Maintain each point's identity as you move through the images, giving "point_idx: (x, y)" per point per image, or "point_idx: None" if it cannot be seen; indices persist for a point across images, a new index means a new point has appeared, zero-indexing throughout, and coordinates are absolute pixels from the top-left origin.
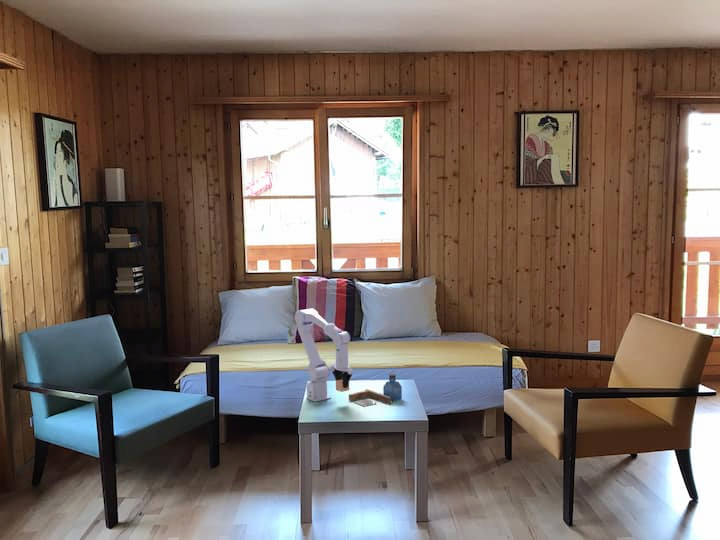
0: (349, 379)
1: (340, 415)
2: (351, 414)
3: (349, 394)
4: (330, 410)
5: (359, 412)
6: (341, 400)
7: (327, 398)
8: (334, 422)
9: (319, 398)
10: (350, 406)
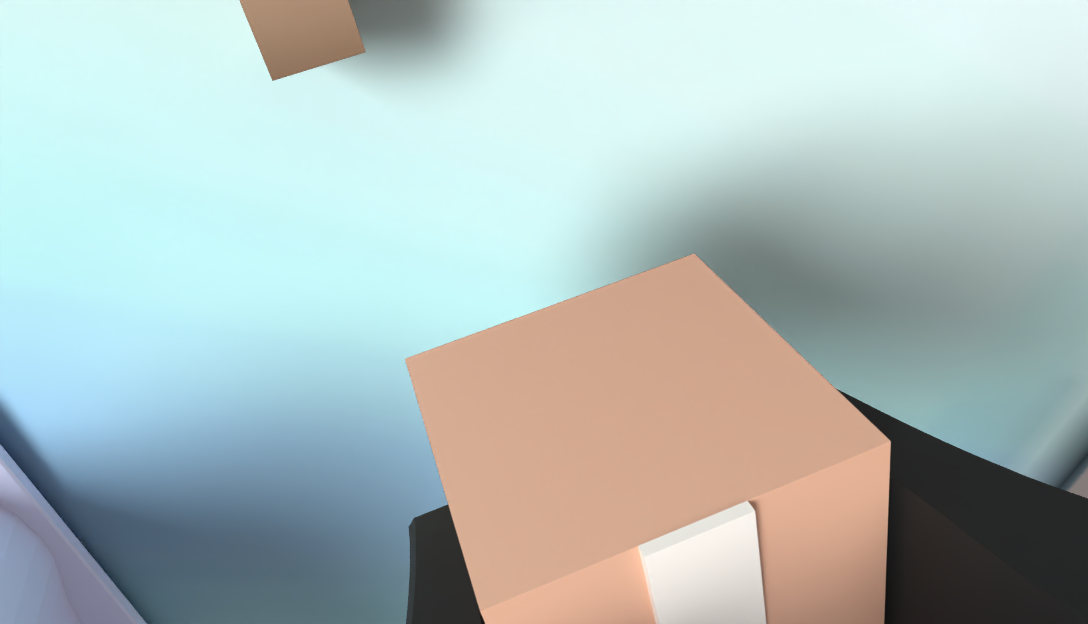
0: (1078, 509)
1: (948, 390)
2: (1016, 250)
3: (291, 61)
4: None
5: (1035, 108)
6: (199, 202)
7: (15, 469)
8: (1072, 480)
9: (67, 618)
10: (690, 147)
